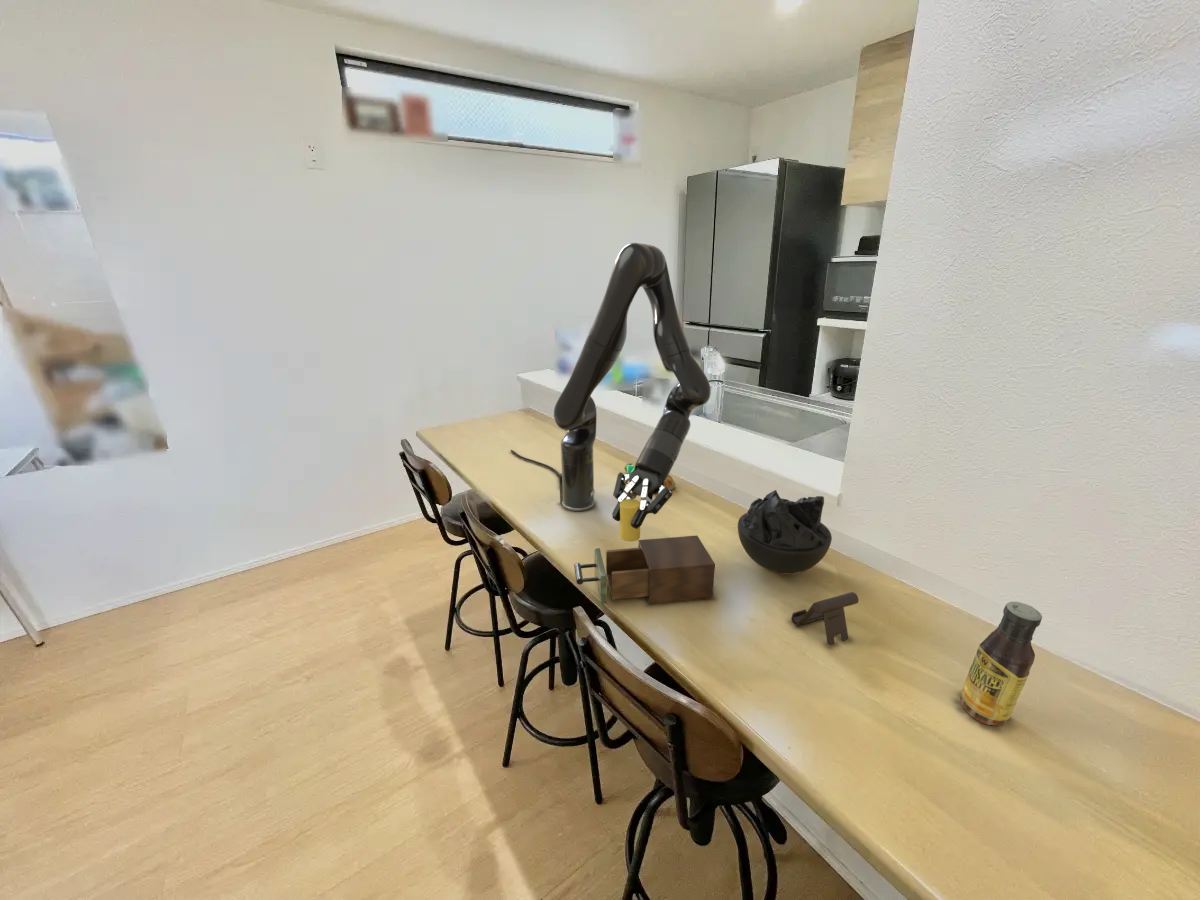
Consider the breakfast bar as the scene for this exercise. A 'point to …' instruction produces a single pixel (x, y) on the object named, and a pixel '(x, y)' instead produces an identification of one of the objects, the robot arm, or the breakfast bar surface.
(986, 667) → the sauce bottle
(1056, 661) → the breakfast bar surface
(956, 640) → the breakfast bar surface
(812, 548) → the coal bowl
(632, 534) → the canister
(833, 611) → the tablet stand
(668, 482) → the pastry
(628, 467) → the candy
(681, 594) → the cabinet
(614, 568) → the drawer
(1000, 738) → the breakfast bar surface
